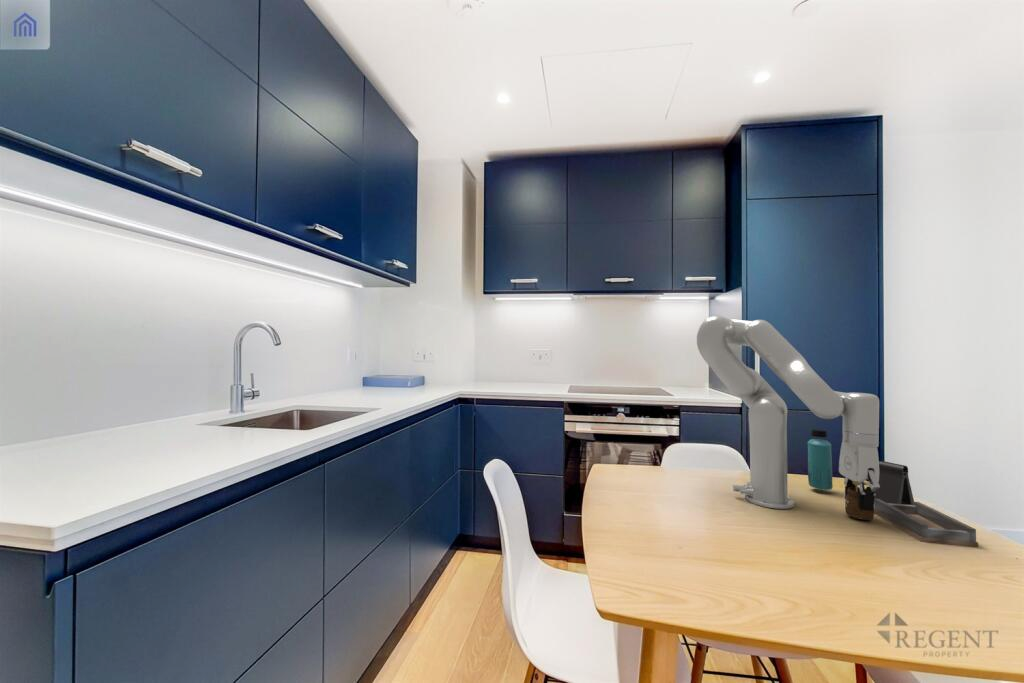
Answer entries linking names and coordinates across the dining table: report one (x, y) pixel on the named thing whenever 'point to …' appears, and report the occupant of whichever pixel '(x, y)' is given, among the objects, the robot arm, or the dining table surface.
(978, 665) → the dining table surface
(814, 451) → the beverage bottle
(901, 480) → the phone stand
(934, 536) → the gray framed rectangular tray
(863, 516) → the utensil holder
